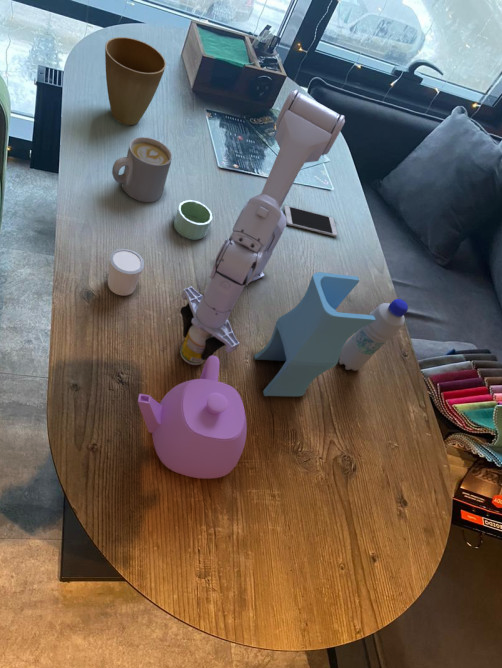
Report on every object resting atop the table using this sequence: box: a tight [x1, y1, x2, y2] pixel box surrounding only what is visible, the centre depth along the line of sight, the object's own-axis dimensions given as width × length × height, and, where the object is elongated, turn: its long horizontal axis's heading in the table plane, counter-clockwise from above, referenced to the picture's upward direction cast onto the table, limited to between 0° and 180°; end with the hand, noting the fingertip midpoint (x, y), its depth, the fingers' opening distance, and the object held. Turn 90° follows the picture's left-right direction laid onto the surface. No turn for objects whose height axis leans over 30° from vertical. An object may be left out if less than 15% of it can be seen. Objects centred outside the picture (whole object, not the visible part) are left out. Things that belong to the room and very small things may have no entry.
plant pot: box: [104, 36, 167, 126], centre depth 129 cm, size 15×15×16 cm
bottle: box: [338, 298, 409, 372], centre depth 105 cm, size 7×7×20 cm
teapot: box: [137, 354, 248, 480], centre depth 85 cm, size 20×20×15 cm
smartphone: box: [283, 205, 338, 237], centre depth 136 cm, size 8×1×15 cm
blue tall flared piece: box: [253, 271, 376, 397], centre depth 95 cm, size 10×10×25 cm
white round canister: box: [107, 248, 145, 296], centre depth 102 cm, size 7×7×7 cm
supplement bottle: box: [179, 325, 213, 366], centre depth 97 cm, size 5×5×10 cm
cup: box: [173, 199, 213, 241], centre depth 119 cm, size 8×8×4 cm
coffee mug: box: [111, 136, 173, 203], centre depth 118 cm, size 13×10×10 cm
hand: (196, 345), depth 99 cm, fingers closed on supplement bottle, 5 cm apart
